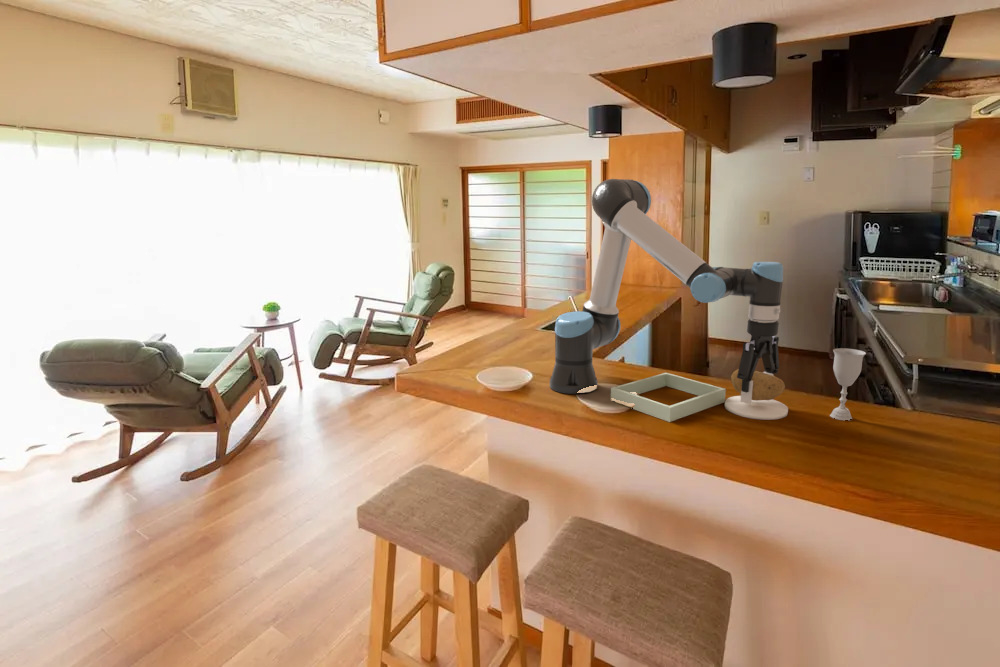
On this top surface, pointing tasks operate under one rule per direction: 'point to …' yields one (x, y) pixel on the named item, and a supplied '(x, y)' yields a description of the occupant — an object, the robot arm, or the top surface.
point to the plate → (757, 408)
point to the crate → (705, 392)
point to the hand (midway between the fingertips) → (756, 398)
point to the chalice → (846, 376)
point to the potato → (761, 385)
